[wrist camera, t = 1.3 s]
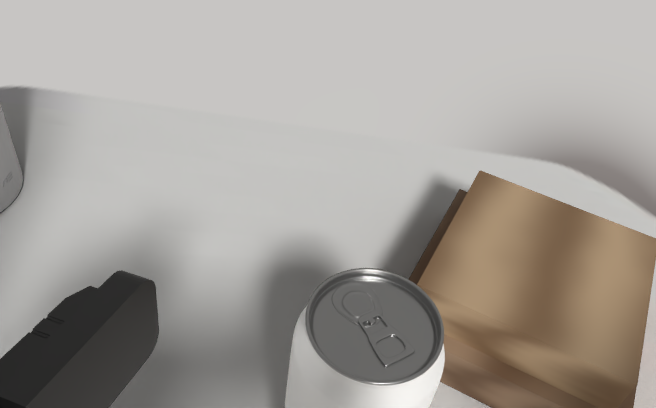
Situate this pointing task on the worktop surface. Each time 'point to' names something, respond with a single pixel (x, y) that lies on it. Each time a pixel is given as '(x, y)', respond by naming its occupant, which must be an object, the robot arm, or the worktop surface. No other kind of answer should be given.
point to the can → (366, 344)
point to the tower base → (537, 299)
